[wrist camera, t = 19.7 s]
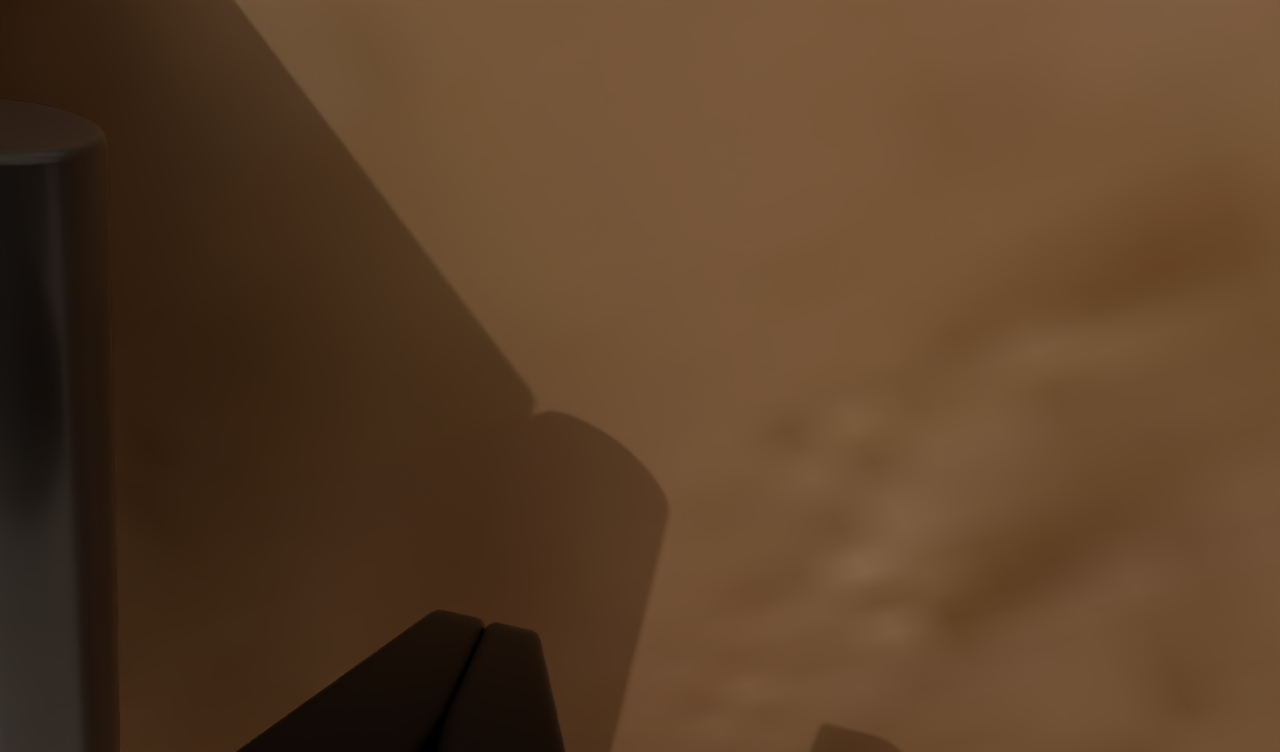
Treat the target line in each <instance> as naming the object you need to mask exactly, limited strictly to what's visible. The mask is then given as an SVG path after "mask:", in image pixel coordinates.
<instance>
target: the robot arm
mask: <svg viewBox="0 0 1280 752" xmlns="http://www.w3.org/2000/svg"><path fill="white" fill-rule="evenodd" d="M236 752H565V747H564V743H563V738H562V734H561V729H560V725H559V720H558V716H557V711H556V707H555V702H554V698H553V693H552V689H551V684H550V680H549V676H548V671H547V667H546V662H545V658H544V653H543V649H542V644H541V640H540V638H539V636H538V634H537V633H536V632H534V631H532V630H528V629H524V628H519V627H515V626H511V625H506V624H502V623H498V622H494V623H491V624H489V625H488V626H487V627H486V628H485V625H484V622H483V621H482V620H481V619H479V618H476V617H471V616H467V615H463V614H458V613H454V612H450V611H445V610H436V611H433V612H431V613H429V614H428V615H427V616H425V617H424V618H422V619H421V620H420V621H418V622H417V623H415V624H414V625H413V626H411V627H410V628H408V629H407V630H406V631H404V632H403V633H401V634H400V635H399V636H397V637H396V638H394V639H393V640H392V641H390V642H389V643H387V644H386V645H385V646H383V647H382V648H380V649H379V650H378V651H376V652H375V653H373V654H372V655H371V656H369V657H368V658H366V659H365V660H364V661H362V662H361V663H359V664H358V665H357V666H355V667H354V668H352V669H351V670H350V671H348V672H347V673H345V674H344V675H343V676H341V677H340V678H338V679H337V680H336V681H334V682H333V683H331V684H330V685H329V686H327V687H326V688H324V689H323V690H322V691H320V692H319V693H317V694H316V695H315V696H313V697H312V698H310V699H309V700H308V701H306V702H305V703H304V704H302V705H301V706H299V707H298V708H297V709H295V710H294V711H292V712H291V713H290V714H288V715H287V716H285V717H284V718H283V719H281V720H280V721H278V722H277V723H276V724H274V725H273V726H271V727H270V728H269V729H267V730H266V731H264V732H263V733H262V734H260V735H259V736H257V737H256V738H255V739H253V740H252V741H250V742H249V743H248V744H246V745H245V746H243V747H242V748H241V749H239V750H238V751H236Z"/></svg>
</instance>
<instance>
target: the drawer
mask: <svg viewBox="0 0 1280 752" xmlns="http://www.w3.org/2000/svg"><path fill="white" fill-rule="evenodd" d="M0 752H120V712H119V660H118V608H117V556H116V503H115V451H114V399H113V347H112V295H111V243H110V190H109V143H108V139H107V137H106V135H105V133H104V131H103V129H102V128H101V127H100V126H99V125H98V124H96V123H95V122H93V121H91V120H89V119H87V118H85V117H82V116H80V115H77V114H74V113H71V112H68V111H65V110H62V109H58V108H54V107H50V106H46V105H41V104H35V103H30V102H23V101H16V100H7V99H0Z"/></svg>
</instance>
